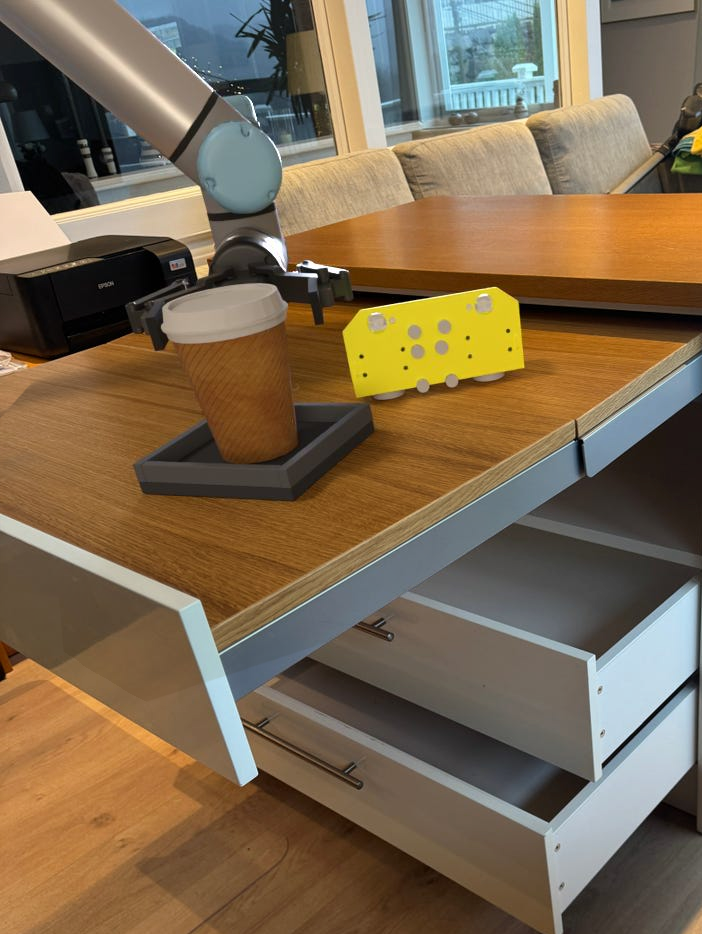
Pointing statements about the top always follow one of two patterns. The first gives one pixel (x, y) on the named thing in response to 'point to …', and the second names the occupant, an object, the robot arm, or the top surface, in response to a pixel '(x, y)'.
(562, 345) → the top surface
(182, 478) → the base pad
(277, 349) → the disposable coffee cup
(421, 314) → the yellow toy chassis
